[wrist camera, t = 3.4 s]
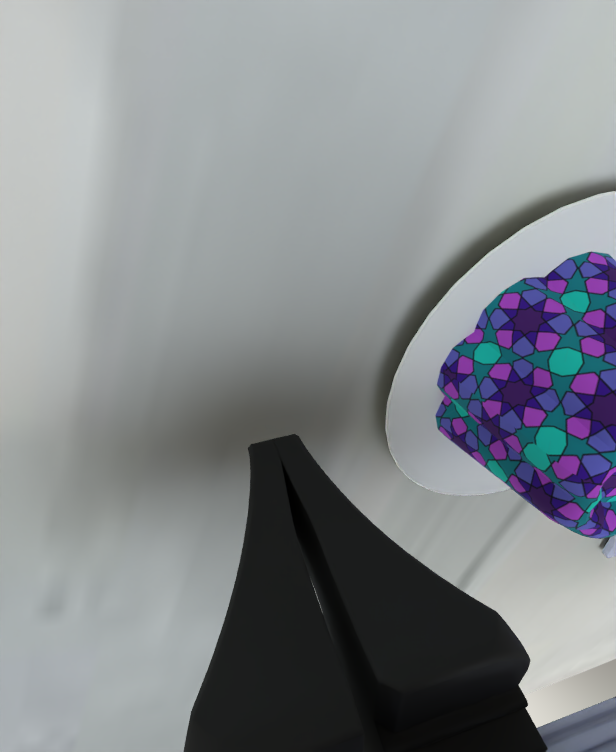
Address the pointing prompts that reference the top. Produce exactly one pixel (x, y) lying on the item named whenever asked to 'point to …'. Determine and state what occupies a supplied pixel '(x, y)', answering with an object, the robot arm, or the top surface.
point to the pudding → (521, 374)
